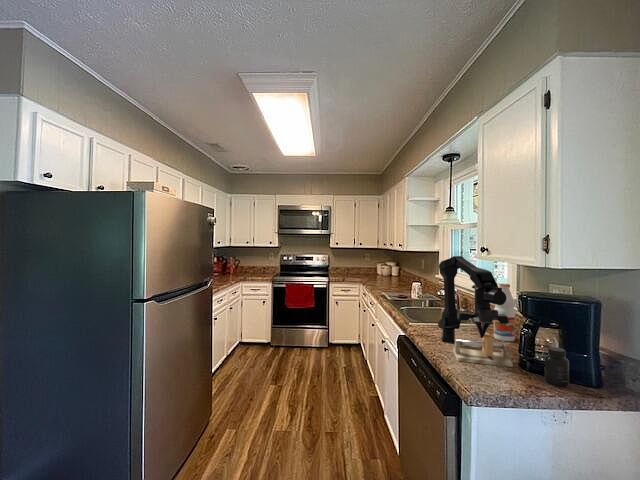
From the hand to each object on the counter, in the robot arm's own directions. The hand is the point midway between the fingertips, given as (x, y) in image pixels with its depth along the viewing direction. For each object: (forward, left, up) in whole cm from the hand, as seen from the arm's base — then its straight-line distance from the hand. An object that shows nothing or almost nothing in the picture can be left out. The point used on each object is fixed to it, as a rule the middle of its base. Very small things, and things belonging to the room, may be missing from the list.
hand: (481, 337), depth 131 cm
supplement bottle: (+18, +20, -9) cm, 28 cm away
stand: (0, 0, -9) cm, 9 cm away
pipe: (0, 0, -4) cm, 4 cm away
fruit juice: (-34, +18, -9) cm, 39 cm away
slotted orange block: (0, +2, -6) cm, 7 cm away
